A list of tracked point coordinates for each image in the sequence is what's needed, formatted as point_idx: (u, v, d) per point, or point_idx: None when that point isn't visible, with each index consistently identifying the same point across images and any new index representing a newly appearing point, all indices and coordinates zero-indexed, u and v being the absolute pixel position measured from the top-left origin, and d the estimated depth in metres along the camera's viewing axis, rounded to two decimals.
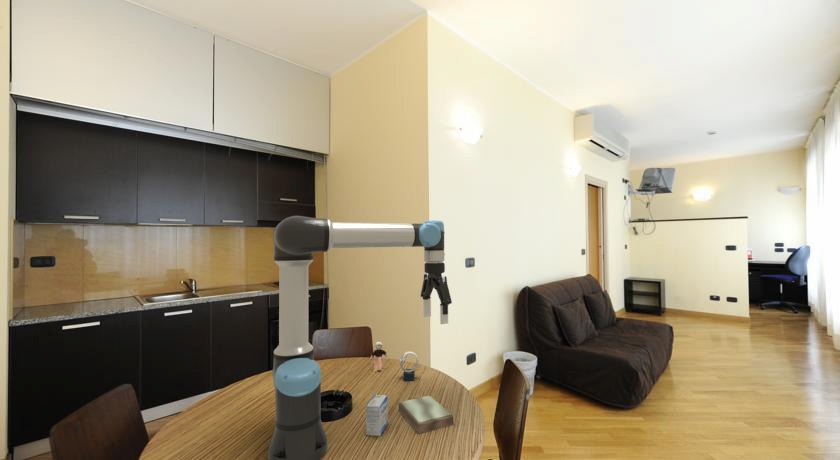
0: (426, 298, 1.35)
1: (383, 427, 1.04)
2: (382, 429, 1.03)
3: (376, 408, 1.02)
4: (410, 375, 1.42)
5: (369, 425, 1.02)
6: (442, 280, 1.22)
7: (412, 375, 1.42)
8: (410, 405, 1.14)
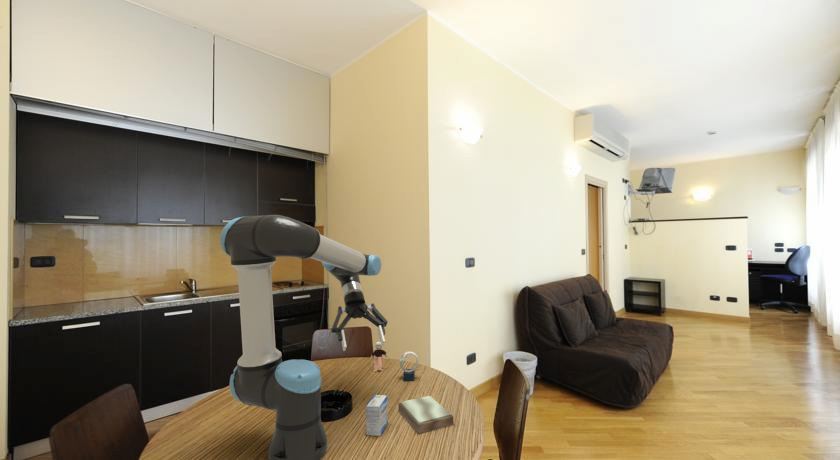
0: None
1: (383, 427, 1.04)
2: (382, 429, 1.03)
3: (376, 408, 1.02)
4: (410, 375, 1.42)
5: (369, 425, 1.02)
6: None
7: (412, 375, 1.42)
8: (410, 405, 1.14)
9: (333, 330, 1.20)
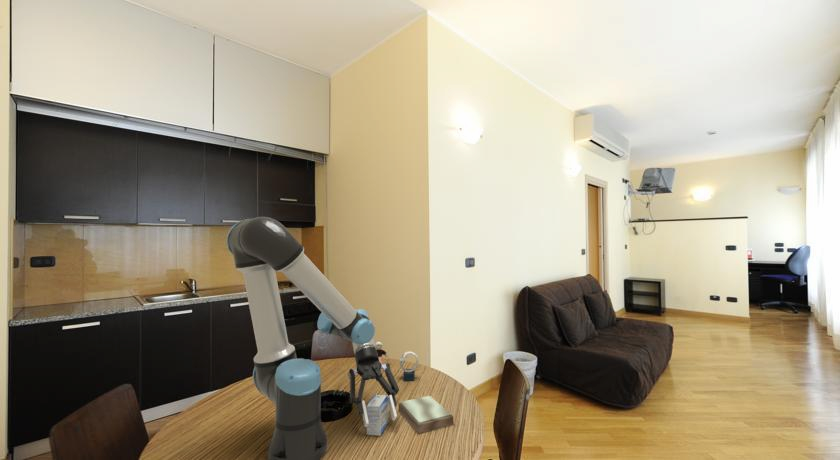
0: None
1: (383, 427, 1.04)
2: (382, 429, 1.03)
3: (376, 408, 1.02)
4: (410, 375, 1.42)
5: (369, 425, 1.02)
6: None
7: (412, 375, 1.42)
8: (410, 405, 1.14)
9: (352, 401, 1.04)
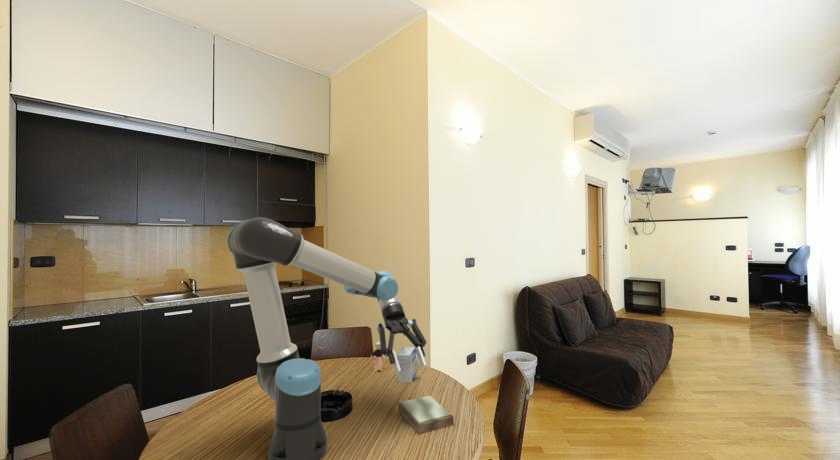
0: None
1: (413, 375, 1.10)
2: (413, 377, 1.09)
3: (407, 356, 1.07)
4: None
5: (400, 373, 1.08)
6: None
7: None
8: (410, 405, 1.14)
9: (384, 351, 1.10)
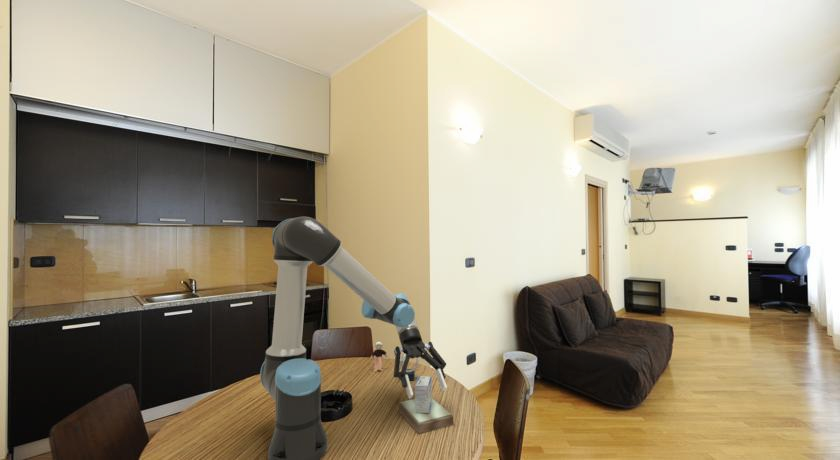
0: None
1: (430, 405, 1.11)
2: (429, 407, 1.10)
3: (425, 387, 1.09)
4: (410, 375, 1.42)
5: (418, 403, 1.09)
6: None
7: (412, 375, 1.42)
8: (410, 405, 1.14)
9: (396, 375, 1.11)
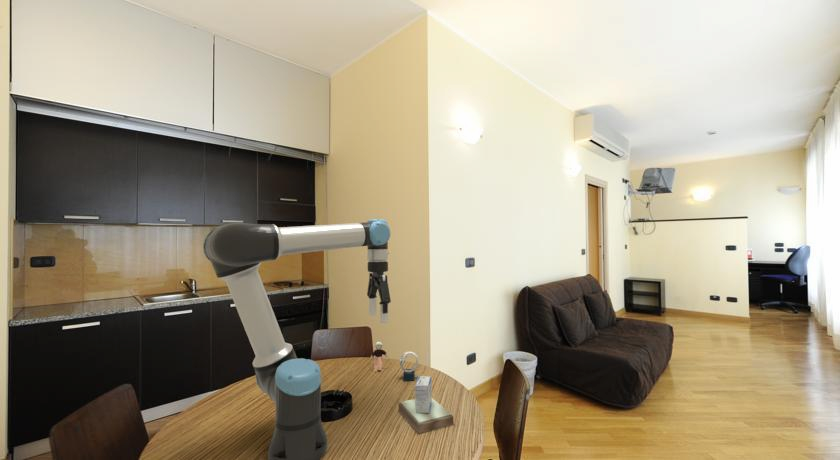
0: (372, 297, 1.35)
1: (430, 405, 1.11)
2: (429, 407, 1.10)
3: (425, 387, 1.09)
4: (410, 375, 1.42)
5: (418, 403, 1.09)
6: (382, 279, 1.22)
7: (412, 375, 1.42)
8: (410, 405, 1.14)
9: None
